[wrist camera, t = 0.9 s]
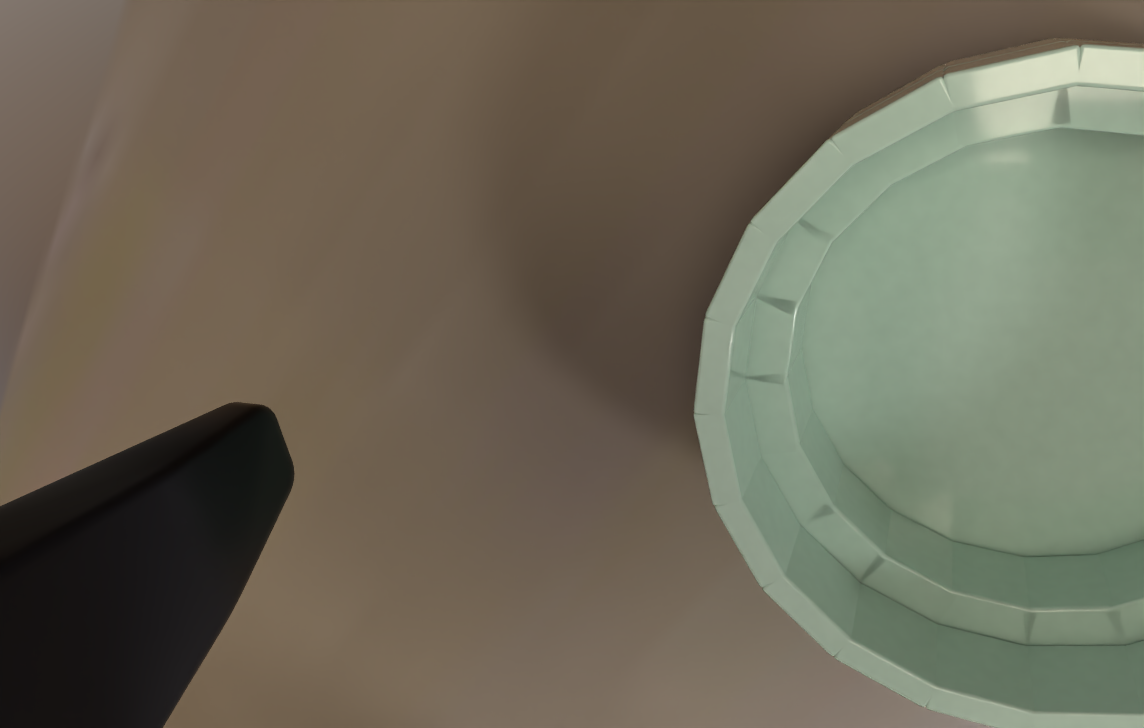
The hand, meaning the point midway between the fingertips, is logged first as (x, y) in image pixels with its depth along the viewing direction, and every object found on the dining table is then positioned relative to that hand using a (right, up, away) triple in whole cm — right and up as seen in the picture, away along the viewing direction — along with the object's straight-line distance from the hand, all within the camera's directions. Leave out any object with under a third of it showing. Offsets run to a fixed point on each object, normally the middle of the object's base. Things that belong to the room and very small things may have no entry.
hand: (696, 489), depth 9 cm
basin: (+9, +2, +12) cm, 15 cm away
